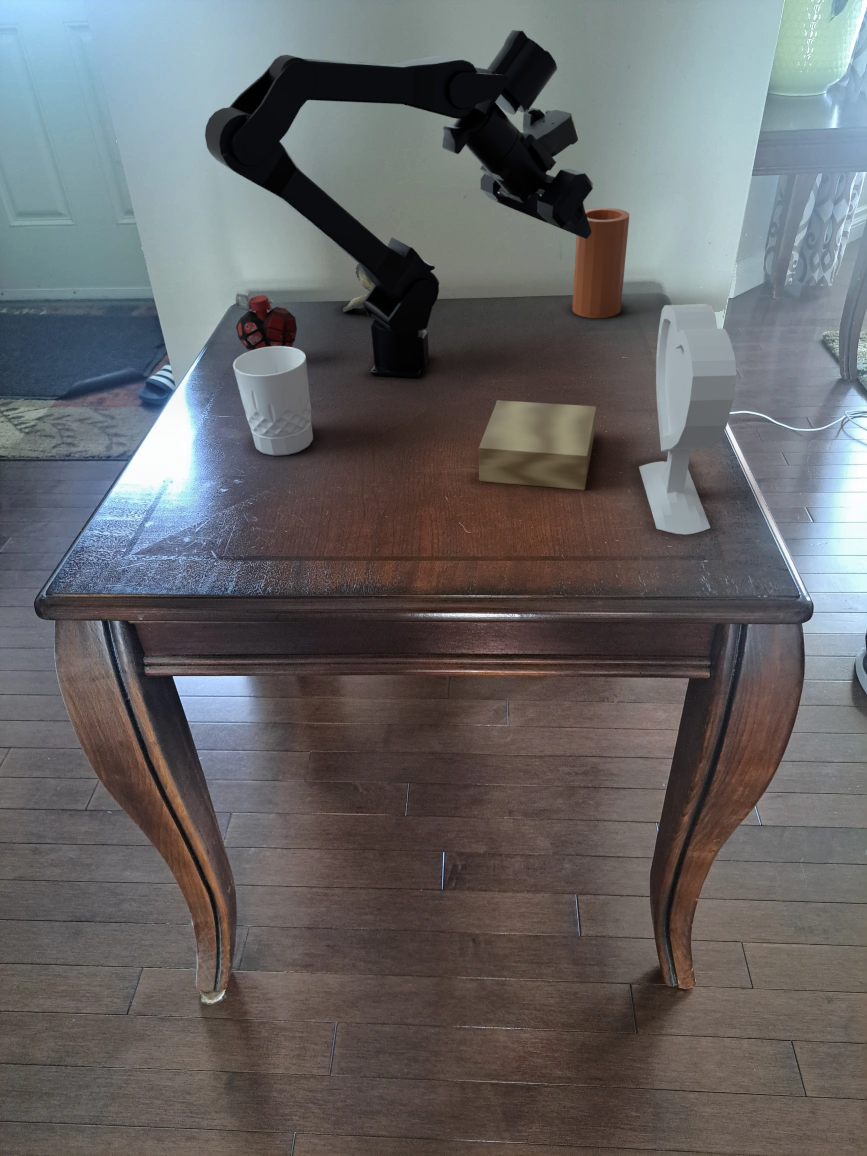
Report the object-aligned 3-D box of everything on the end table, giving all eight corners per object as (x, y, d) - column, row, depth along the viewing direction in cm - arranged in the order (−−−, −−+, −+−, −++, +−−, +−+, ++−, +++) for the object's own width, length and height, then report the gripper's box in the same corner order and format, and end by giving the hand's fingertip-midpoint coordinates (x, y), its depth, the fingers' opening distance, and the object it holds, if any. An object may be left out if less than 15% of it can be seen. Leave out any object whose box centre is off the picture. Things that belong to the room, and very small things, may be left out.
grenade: (244, 359, 116) (229, 287, 110) (301, 353, 117) (290, 281, 110) (243, 374, 112) (228, 300, 106) (302, 367, 113) (291, 294, 106)
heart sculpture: (636, 457, 90) (655, 290, 78) (683, 456, 89) (709, 289, 78) (660, 540, 77) (687, 357, 66) (715, 540, 77) (751, 355, 66)
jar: (570, 317, 122) (575, 221, 114) (575, 300, 128) (580, 207, 119) (618, 319, 121) (627, 222, 112) (621, 302, 126) (630, 208, 118)
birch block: (479, 481, 87) (478, 447, 85) (497, 432, 96) (497, 400, 93) (584, 490, 85) (587, 455, 82) (593, 438, 93) (596, 406, 91)
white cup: (305, 461, 92) (291, 377, 86) (239, 456, 94) (221, 374, 88) (326, 427, 98) (315, 347, 92) (264, 424, 100) (248, 344, 94)
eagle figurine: (410, 295, 130) (360, 279, 132) (402, 265, 123) (350, 248, 125) (389, 334, 128) (338, 317, 130) (380, 306, 121) (327, 289, 123)
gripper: (586, 96, 93) (652, 189, 103) (501, 80, 106) (567, 163, 116) (523, 182, 95) (594, 264, 105) (448, 155, 108) (518, 231, 119)
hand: (568, 227), depth 111 cm, fingers open, 9 cm apart
